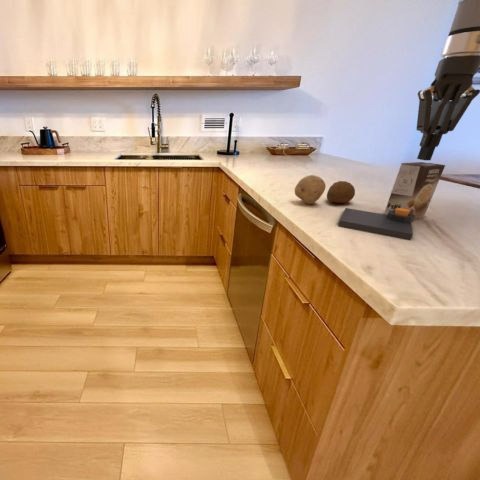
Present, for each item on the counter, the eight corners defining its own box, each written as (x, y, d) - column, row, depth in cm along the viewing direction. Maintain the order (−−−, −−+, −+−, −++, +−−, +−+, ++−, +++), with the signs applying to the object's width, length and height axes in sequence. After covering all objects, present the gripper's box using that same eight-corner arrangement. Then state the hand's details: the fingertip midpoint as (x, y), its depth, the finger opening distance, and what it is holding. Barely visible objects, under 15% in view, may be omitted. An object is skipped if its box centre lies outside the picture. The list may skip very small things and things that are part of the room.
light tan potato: (296, 207, 97) (302, 177, 93) (289, 199, 105) (294, 172, 101) (324, 208, 96) (332, 178, 92) (315, 200, 104) (321, 173, 100)
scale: (410, 224, 82) (414, 212, 81) (412, 241, 72) (417, 228, 70) (344, 213, 91) (347, 202, 90) (337, 226, 81) (341, 214, 79)
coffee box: (404, 222, 84) (425, 166, 77) (382, 215, 89) (400, 163, 82) (424, 218, 87) (446, 164, 80) (401, 212, 92) (420, 161, 85)
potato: (355, 201, 103) (361, 179, 100) (348, 209, 95) (354, 186, 91) (330, 197, 108) (335, 176, 105) (321, 204, 99) (326, 182, 96)
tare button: (407, 214, 81) (409, 209, 80) (408, 217, 79) (410, 212, 78) (394, 212, 82) (396, 207, 82) (394, 215, 80) (396, 209, 80)
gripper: (445, 54, 64) (408, 161, 74) (507, 53, 63) (461, 162, 73) (420, 59, 71) (389, 157, 81) (475, 58, 70) (437, 157, 80)
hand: (423, 159), depth 77 cm, fingers closed
